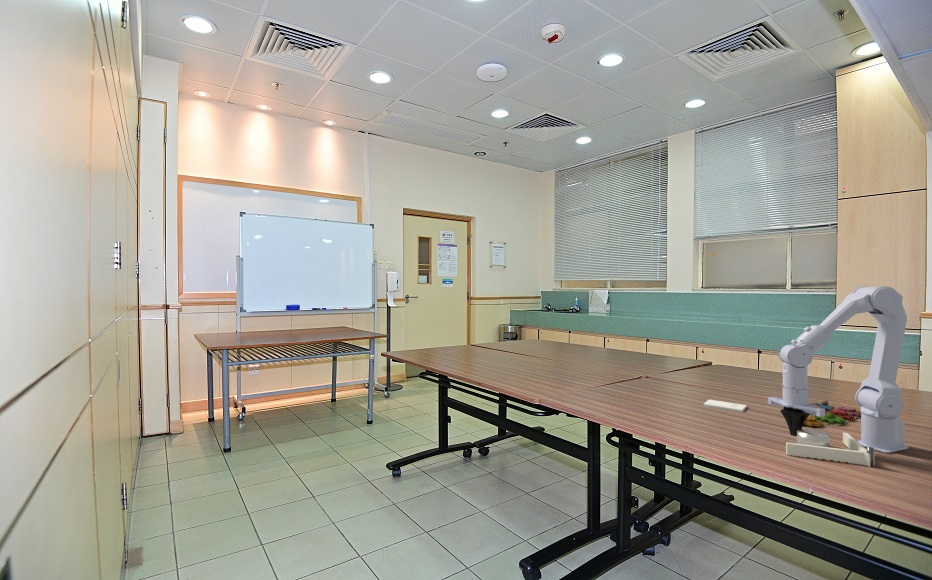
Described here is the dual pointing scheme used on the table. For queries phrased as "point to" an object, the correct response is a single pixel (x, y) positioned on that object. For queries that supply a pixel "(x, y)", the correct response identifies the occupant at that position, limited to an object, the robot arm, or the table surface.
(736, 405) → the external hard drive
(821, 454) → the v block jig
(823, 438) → the translucent glass bowl
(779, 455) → the table surface
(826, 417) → the gear puzzle
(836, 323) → the robot arm
